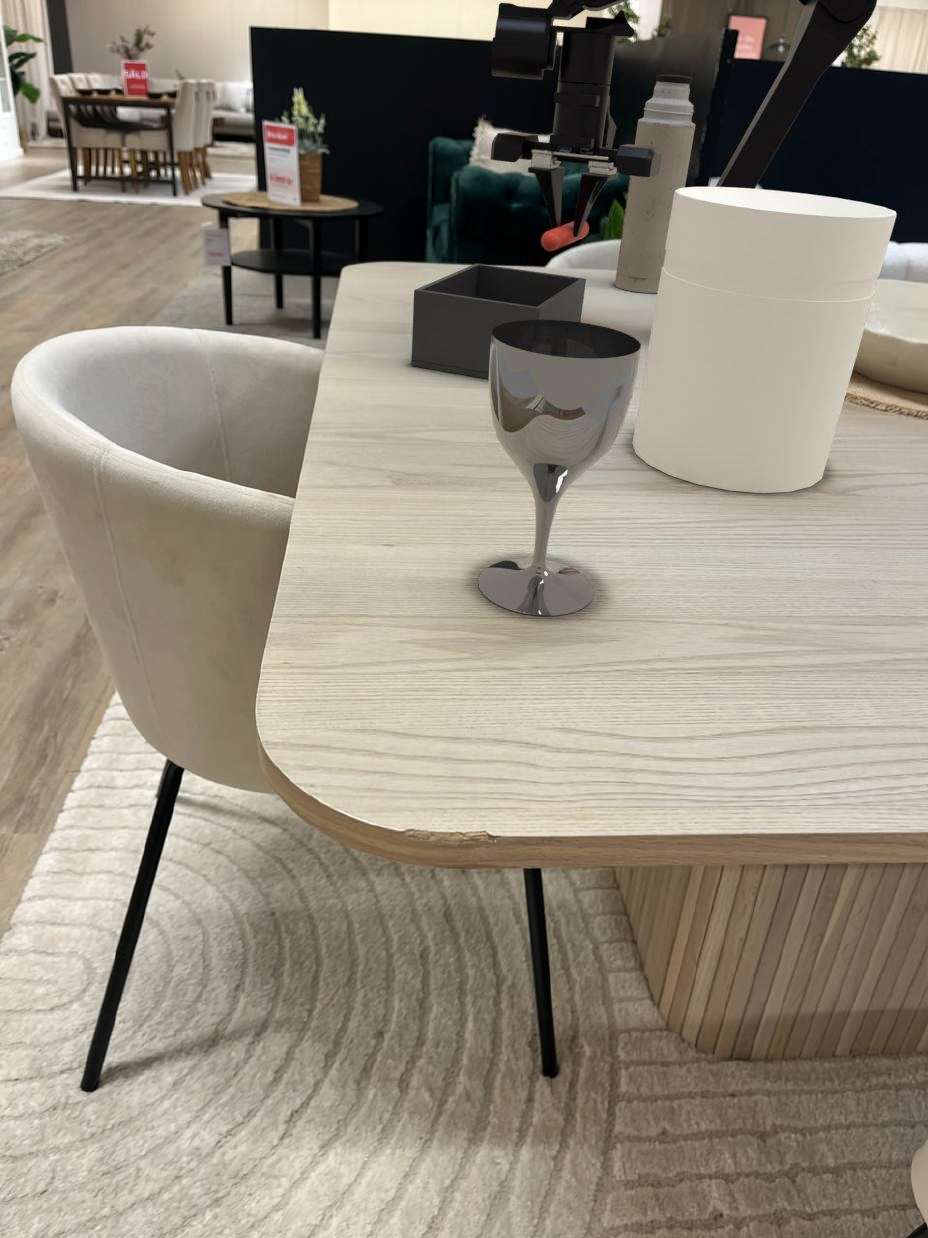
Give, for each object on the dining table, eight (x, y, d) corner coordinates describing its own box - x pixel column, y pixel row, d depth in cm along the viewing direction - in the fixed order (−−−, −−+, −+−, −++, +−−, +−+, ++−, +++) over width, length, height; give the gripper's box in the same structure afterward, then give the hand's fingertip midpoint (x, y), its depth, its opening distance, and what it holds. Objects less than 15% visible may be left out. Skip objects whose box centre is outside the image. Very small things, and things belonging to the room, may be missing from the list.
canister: (800, 510, 70) (879, 224, 59) (603, 460, 76) (644, 194, 66) (840, 451, 82) (910, 206, 72) (667, 412, 88) (710, 182, 78)
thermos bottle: (605, 286, 140) (634, 71, 125) (629, 279, 146) (660, 73, 131) (653, 295, 136) (689, 75, 122) (675, 288, 142) (712, 77, 127)
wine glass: (466, 555, 59) (483, 316, 52) (587, 557, 60) (622, 322, 53) (478, 618, 53) (500, 354, 45) (614, 620, 54) (659, 361, 46)
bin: (471, 329, 111) (475, 263, 107) (577, 346, 107) (586, 278, 103) (411, 365, 96) (413, 289, 92) (532, 386, 92) (540, 308, 89)
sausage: (572, 236, 116) (575, 217, 115) (589, 238, 115) (592, 219, 114) (537, 250, 105) (539, 229, 104) (556, 253, 104) (558, 232, 103)
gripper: (681, 91, 105) (657, 237, 113) (527, 78, 111) (514, 218, 119) (661, 90, 96) (637, 249, 104) (495, 76, 102) (483, 228, 110)
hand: (566, 235), depth 110 cm, fingers closed on sausage, 2 cm apart
